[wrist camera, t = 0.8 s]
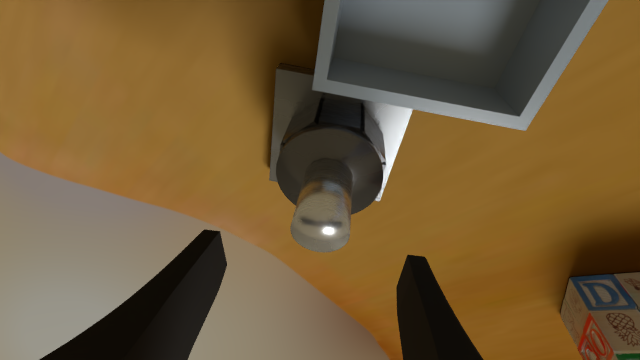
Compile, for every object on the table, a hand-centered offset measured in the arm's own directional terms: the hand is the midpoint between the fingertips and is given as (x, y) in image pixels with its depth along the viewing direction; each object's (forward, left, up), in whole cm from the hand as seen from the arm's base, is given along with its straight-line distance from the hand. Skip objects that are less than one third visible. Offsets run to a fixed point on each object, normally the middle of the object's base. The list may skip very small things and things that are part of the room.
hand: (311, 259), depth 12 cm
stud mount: (0, 0, -10) cm, 10 cm away
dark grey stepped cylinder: (0, 0, -9) cm, 9 cm away
